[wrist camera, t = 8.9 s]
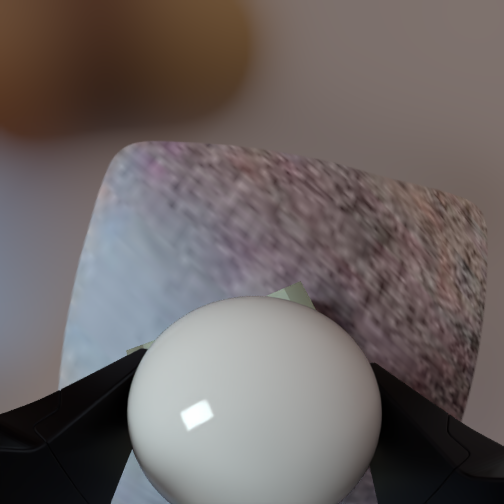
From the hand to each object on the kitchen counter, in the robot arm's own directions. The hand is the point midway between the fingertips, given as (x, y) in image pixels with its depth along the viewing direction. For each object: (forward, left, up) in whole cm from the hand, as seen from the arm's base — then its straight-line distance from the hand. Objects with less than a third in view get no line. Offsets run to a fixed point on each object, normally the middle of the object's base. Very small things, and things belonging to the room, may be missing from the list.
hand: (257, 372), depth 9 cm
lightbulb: (-1, -1, -7) cm, 7 cm away
